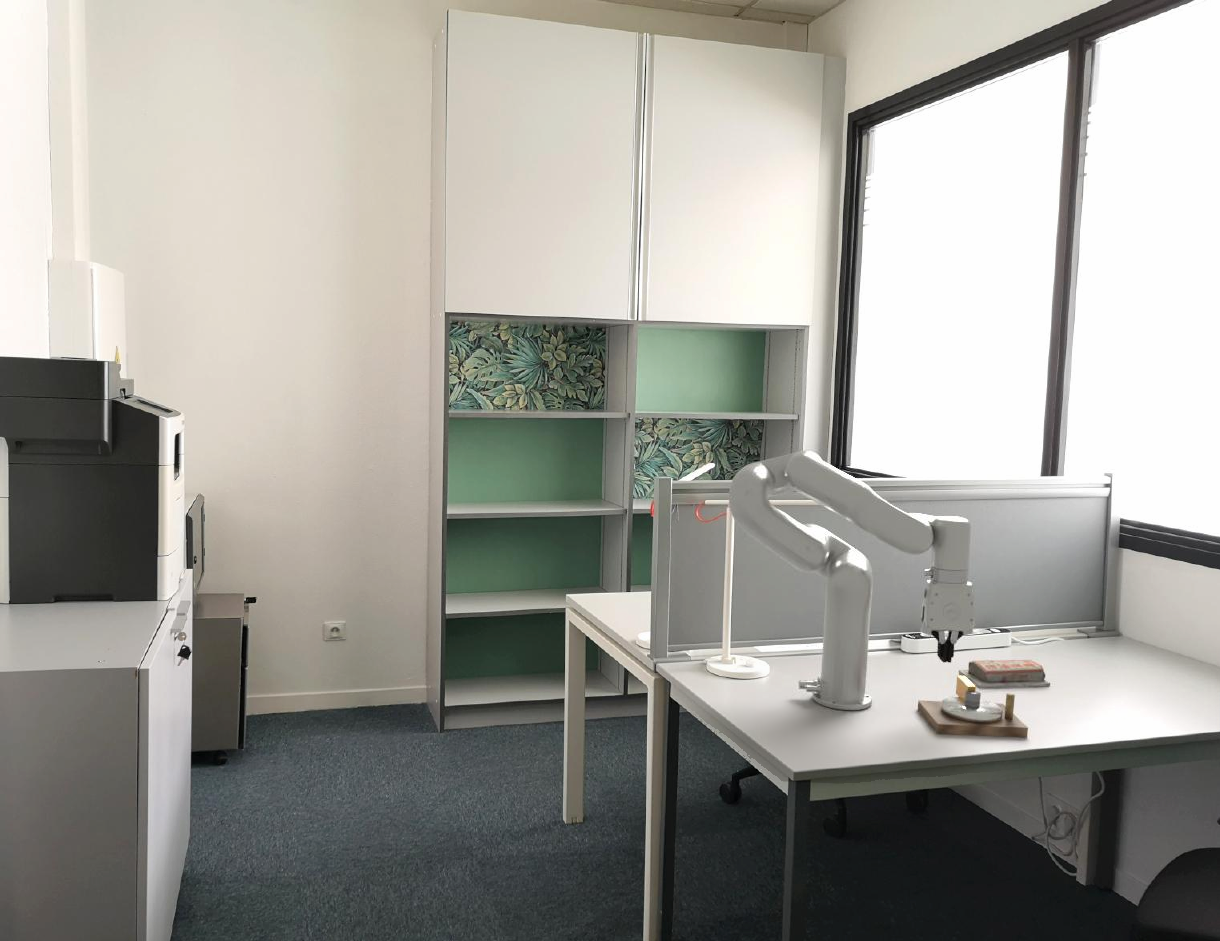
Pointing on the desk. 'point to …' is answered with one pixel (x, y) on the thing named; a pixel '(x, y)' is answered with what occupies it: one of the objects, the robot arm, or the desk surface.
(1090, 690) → the desk surface
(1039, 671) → the packaged product
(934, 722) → the board
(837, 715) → the desk surface
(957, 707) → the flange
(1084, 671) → the desk surface
